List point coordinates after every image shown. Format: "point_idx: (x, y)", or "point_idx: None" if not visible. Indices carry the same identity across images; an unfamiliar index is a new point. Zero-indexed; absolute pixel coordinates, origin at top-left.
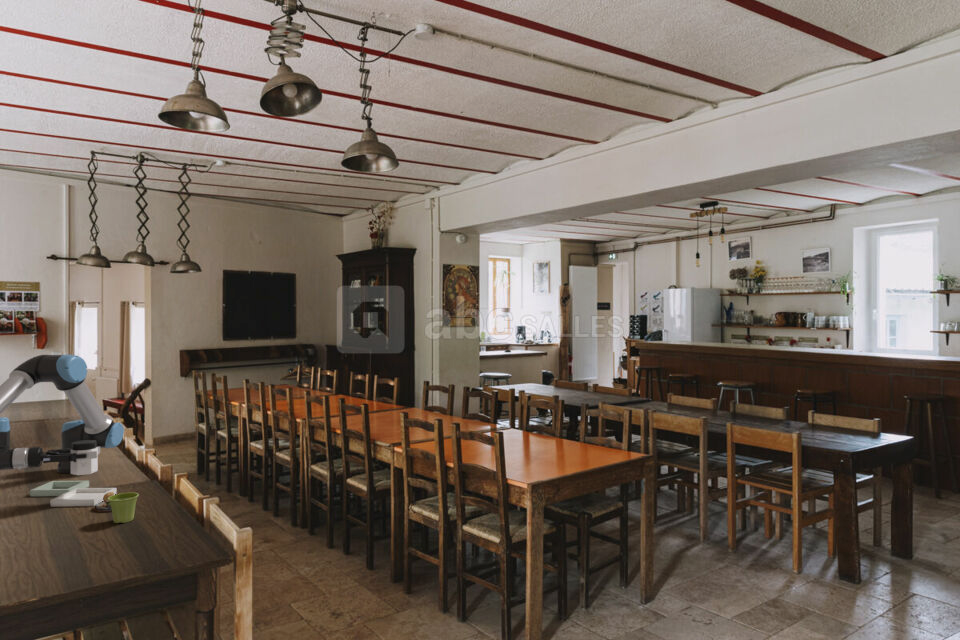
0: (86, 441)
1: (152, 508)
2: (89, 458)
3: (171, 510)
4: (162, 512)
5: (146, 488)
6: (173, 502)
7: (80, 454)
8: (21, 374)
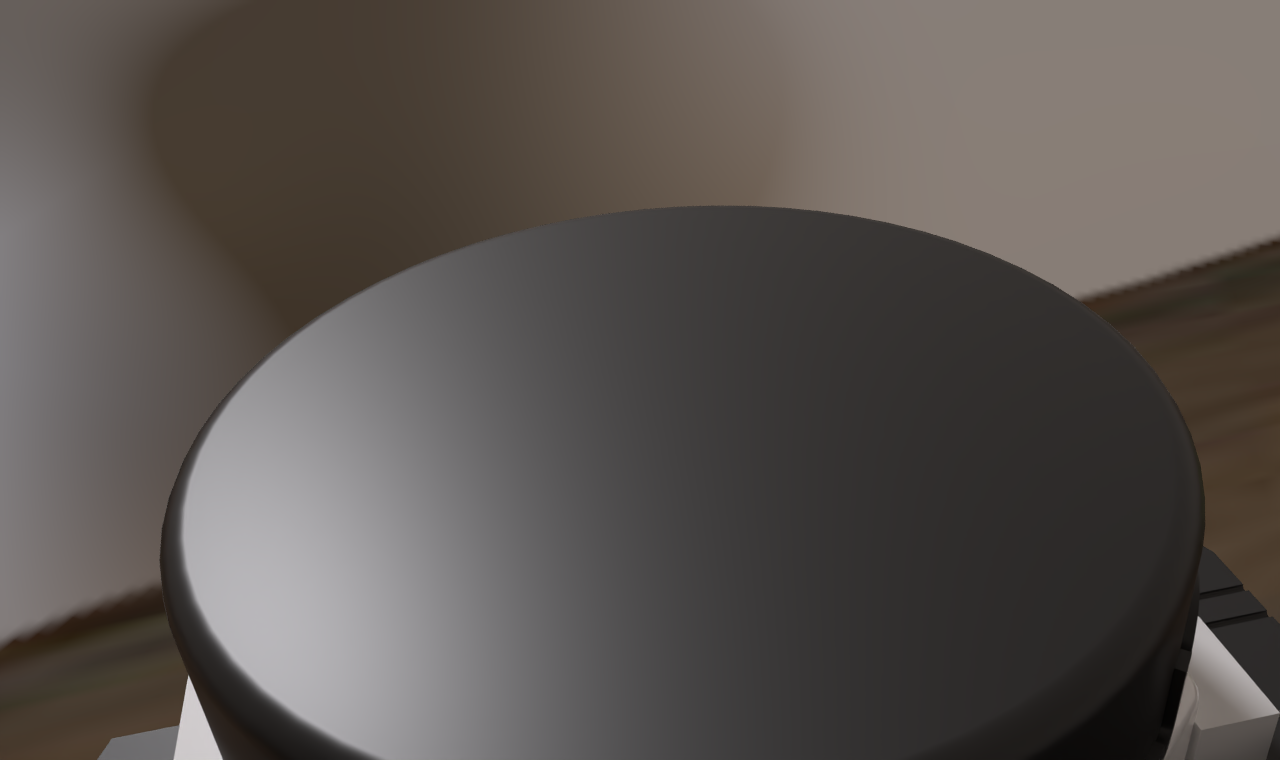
0: (581, 379)
1: None
2: None
3: (1199, 341)
4: (1269, 371)
5: None
6: None
7: (1247, 649)
8: None
